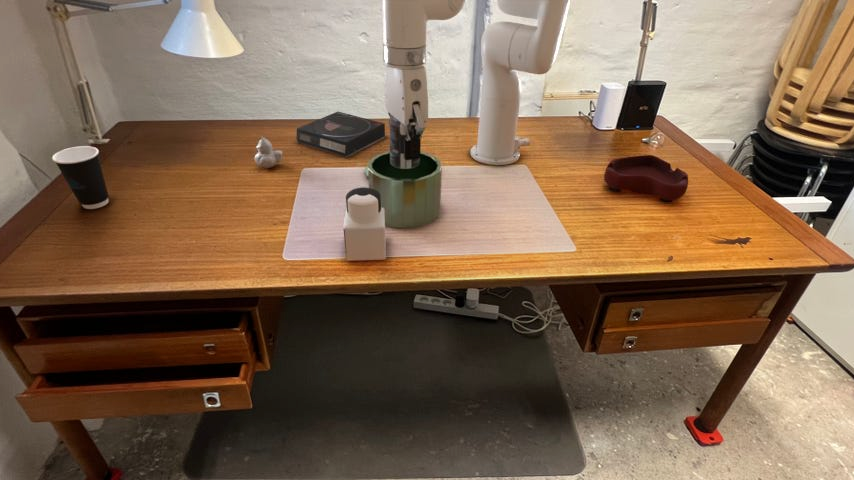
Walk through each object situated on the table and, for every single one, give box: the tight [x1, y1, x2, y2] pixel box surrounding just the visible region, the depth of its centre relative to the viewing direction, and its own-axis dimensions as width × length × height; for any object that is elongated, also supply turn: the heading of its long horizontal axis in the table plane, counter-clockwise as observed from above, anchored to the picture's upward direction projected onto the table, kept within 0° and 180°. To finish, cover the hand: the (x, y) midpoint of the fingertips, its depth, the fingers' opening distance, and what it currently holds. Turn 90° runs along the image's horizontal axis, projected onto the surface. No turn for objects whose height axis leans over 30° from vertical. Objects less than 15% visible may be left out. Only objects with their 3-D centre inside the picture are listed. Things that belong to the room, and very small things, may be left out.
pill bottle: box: [388, 117, 420, 169], centre depth 98 cm, size 6×6×11 cm
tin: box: [367, 150, 443, 230], centre depth 104 cm, size 15×15×10 cm
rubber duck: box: [254, 135, 284, 169], centre depth 121 cm, size 5×7×8 cm
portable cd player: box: [295, 111, 386, 158], centre depth 136 cm, size 16×17×4 cm
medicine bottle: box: [343, 186, 387, 262], centre depth 91 cm, size 7×7×12 cm
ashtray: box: [603, 154, 689, 204], centre depth 118 cm, size 18×16×5 cm
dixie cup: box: [51, 145, 110, 210], centre depth 103 cm, size 8×8×11 cm
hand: (405, 151), depth 99 cm, fingers closed on pill bottle, 6 cm apart
